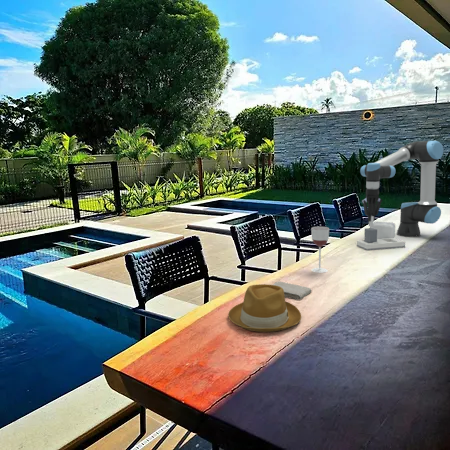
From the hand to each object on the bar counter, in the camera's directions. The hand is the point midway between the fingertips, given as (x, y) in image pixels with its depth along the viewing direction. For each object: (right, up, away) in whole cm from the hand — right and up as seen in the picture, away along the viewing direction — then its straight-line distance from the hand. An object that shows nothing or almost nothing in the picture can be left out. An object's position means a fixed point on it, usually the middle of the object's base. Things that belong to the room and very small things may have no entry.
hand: (370, 226), depth 247 cm
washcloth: (-63, -29, -73) cm, 101 cm away
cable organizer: (+16, -9, +21) cm, 28 cm away
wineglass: (-42, -23, -42) cm, 64 cm away
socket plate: (+7, -13, +3) cm, 15 cm away
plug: (0, -12, +2) cm, 12 cm away
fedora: (-76, -34, -99) cm, 129 cm away
